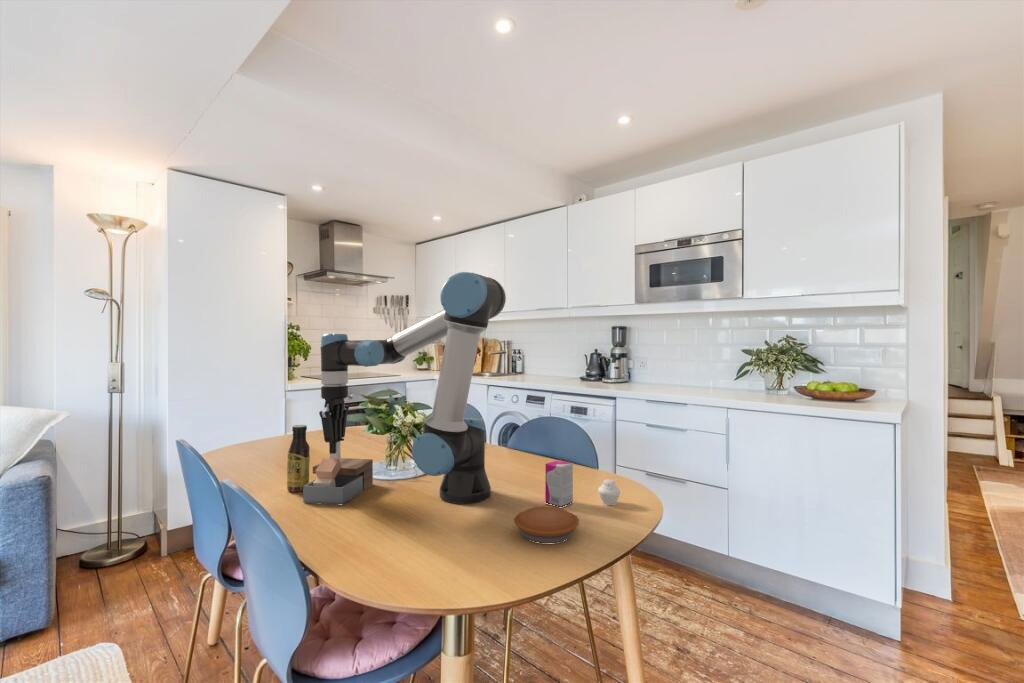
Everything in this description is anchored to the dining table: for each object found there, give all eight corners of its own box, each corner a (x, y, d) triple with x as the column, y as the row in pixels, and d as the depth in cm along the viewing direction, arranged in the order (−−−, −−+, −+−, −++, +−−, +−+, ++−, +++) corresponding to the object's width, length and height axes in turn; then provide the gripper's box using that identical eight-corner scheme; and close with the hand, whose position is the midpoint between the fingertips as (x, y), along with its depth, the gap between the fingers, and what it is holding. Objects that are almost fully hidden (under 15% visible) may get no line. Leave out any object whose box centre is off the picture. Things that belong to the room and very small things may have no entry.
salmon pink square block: (341, 466, 141) (339, 459, 139) (334, 479, 136) (331, 471, 135) (326, 465, 141) (323, 458, 140) (318, 478, 137) (315, 471, 136)
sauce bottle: (282, 491, 144) (281, 426, 144) (298, 485, 150) (298, 423, 150) (298, 494, 142) (298, 428, 141) (314, 487, 147) (314, 424, 147)
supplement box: (573, 503, 133) (573, 463, 133) (560, 509, 129) (560, 467, 129) (557, 498, 137) (557, 459, 137) (544, 503, 133) (544, 463, 133)
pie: (514, 521, 120) (514, 502, 120) (575, 522, 120) (575, 502, 120) (512, 548, 105) (512, 526, 105) (582, 549, 105) (582, 527, 105)
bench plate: (372, 484, 151) (372, 459, 151) (356, 495, 140) (356, 468, 140) (332, 482, 153) (331, 457, 153) (312, 493, 142) (312, 466, 142)
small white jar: (623, 502, 134) (623, 478, 134) (615, 509, 129) (615, 483, 129) (603, 498, 137) (603, 474, 137) (594, 504, 132) (594, 479, 132)
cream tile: (334, 477, 137) (329, 483, 135) (336, 492, 139) (331, 498, 136) (318, 476, 138) (312, 482, 135) (320, 491, 139) (315, 497, 136)
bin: (362, 491, 144) (362, 475, 144) (342, 505, 132) (342, 488, 132) (326, 489, 146) (326, 473, 146) (303, 502, 134) (303, 486, 134)
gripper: (334, 382, 148) (334, 457, 148) (310, 387, 135) (310, 468, 136) (356, 383, 147) (357, 458, 147) (334, 387, 134) (335, 470, 134)
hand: (335, 463), depth 141 cm, fingers closed
